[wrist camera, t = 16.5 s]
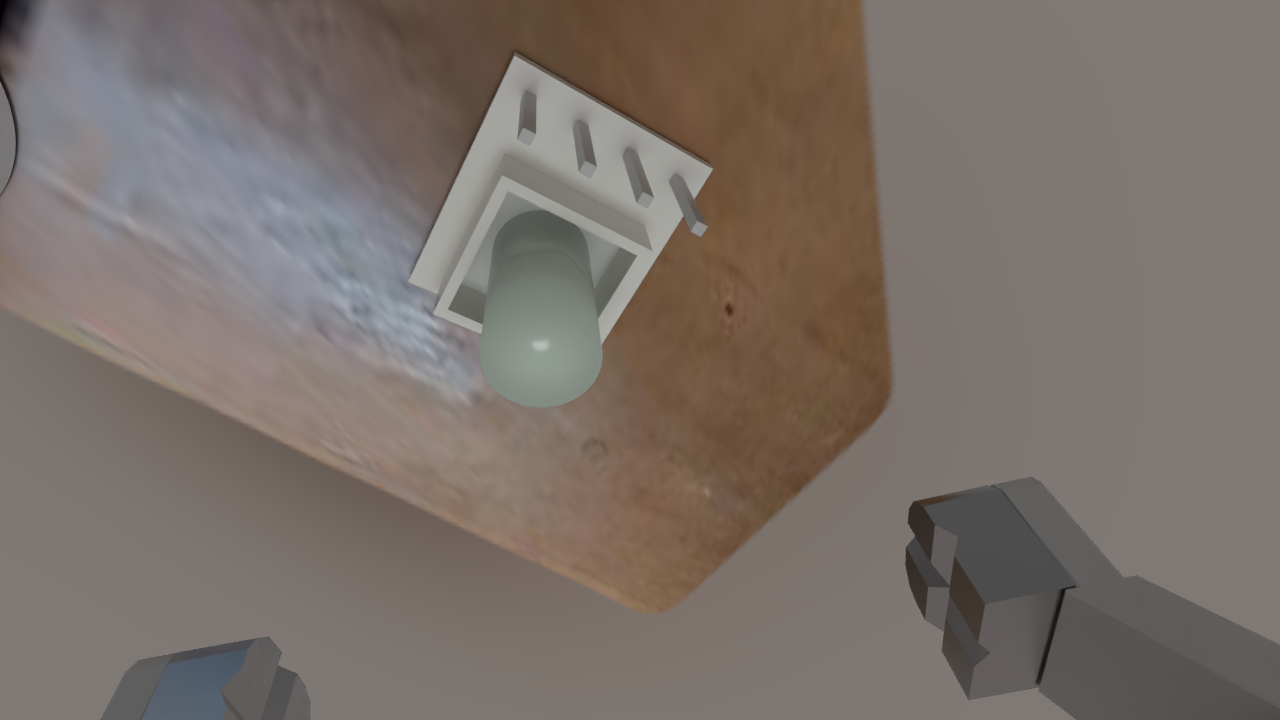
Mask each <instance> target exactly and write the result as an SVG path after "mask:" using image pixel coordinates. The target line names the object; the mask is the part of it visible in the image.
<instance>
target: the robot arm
mask: <svg viewBox="0 0 1280 720" xmlns="http://www.w3.org/2000/svg"><path fill="white" fill-rule="evenodd" d="M15 147H16V141H15V129H14V122H13V117H12V113H11V109H10V106H9V102H8V100H7V97H6V94H5V91H4V89H3V87H2V84H1V82H0V194H1V192H2V191H3V190H4V188H5V186H6V184H7V182H8V180H9V177H10V175H11V171H12V168H13V164H14V158H15ZM908 515H909V516H908V524H909V526H910V528H911V529H912V531H913V533H914V535H915V537H914V539H913V540H912V541H911V542H910V543H909V544H908V545H907V547H906V561H905V566H906V571H907V575H908V580H909V585H910V588H911V591H912V593H913V596H914V598H915V601H916V603H917V605H918V607H919V609H920V611H921V613H922V615H923V617H924V619H925V620H926V621H928V622H929V623H931V624H933V625H934V626H936V627H937V628H939V629H941V630H942V631H944V636H943V645H942V652H943V654H944V656H945V658H946V660H947V661H948V663H949V665H950V667H951V669H952V670H953V672H954V674H955V676H956V678H957V679H958V682H959V683H960V685H961V687H962V689H963V691H964V693H965V694H966V696H967V698H968V700H971V699H977V698H982V697H988V696H993V695H999V694H1004V693H1010V692H1015V691H1021V690H1026V689H1032V688H1037V687H1039V692H1040V693H1042V694H1043V695H1044V696H1046V697H1047V698H1048V699H1050V700H1051V701H1052V702H1054V703H1055V704H1056V705H1058V706H1059V707H1060V708H1062V709H1063V710H1064V711H1066V712H1067V713H1068V714H1070V715H1071V716H1072V717H1073V718H1075V719H1076V720H1280V645H1279V644H1277V643H1275V642H1273V641H1271V640H1269V639H1267V638H1265V637H1263V636H1261V635H1258V634H1256V633H1255V632H1252V631H1250V630H1248V629H1246V628H1244V627H1242V626H1240V625H1238V624H1236V623H1234V622H1232V621H1230V620H1228V619H1225V618H1224V617H1221V616H1219V615H1217V614H1215V613H1213V612H1211V611H1209V610H1207V609H1205V608H1203V607H1201V606H1199V605H1197V604H1195V603H1193V602H1191V601H1188V600H1186V599H1184V598H1182V597H1180V596H1178V595H1176V594H1174V593H1172V592H1170V591H1168V590H1166V589H1164V588H1162V587H1160V586H1158V585H1156V584H1154V583H1151V582H1149V581H1147V580H1145V579H1143V578H1141V577H1139V576H1137V575H1136V576H1130V577H1123V576H1122V575H1121V573H1120V572H1119V571H1118V570H1117V569H1116V568H1115V566H1114V565H1113V564H1112V563H1111V562H1110V561H1109V560H1108V558H1107V557H1106V556H1105V555H1104V554H1103V553H1102V552H1101V550H1100V549H1099V548H1098V547H1097V546H1096V545H1095V544H1094V542H1093V541H1092V540H1091V539H1090V538H1089V537H1088V535H1087V534H1086V533H1085V532H1084V531H1083V530H1082V528H1081V527H1080V526H1079V525H1078V524H1077V523H1076V522H1075V521H1074V519H1073V518H1072V517H1071V516H1070V515H1069V514H1068V512H1067V511H1066V510H1065V509H1064V508H1063V507H1062V506H1061V504H1060V503H1059V502H1058V501H1057V500H1056V499H1055V497H1054V496H1053V495H1052V494H1051V493H1050V492H1049V491H1048V489H1047V488H1046V487H1045V486H1044V485H1043V484H1042V482H1041V481H1039V480H1037V479H1035V478H1033V477H1028V478H1023V479H1018V480H1013V481H1009V482H1004V483H999V484H994V485H991V486H982V487H977V488H973V489H968V490H964V491H959V492H954V493H950V494H945V495H941V496H936V497H932V498H927V499H923V500H918V501H914V502H913V503H912V505H911V506H910V508H909V514H908ZM281 654H282V652H281V651H280V649H279V648H278V647H277V646H276V644H275V643H274V642H273V641H272V640H271V638H270V637H262V638H255V639H250V640H244V641H239V642H233V643H227V644H222V645H217V646H210V647H205V648H199V649H194V650H188V651H183V652H179V653H173V654H168V655H163V656H158V657H153V658H147V659H142V660H138V661H137V662H136V663H135V664H134V665H133V666H132V667H131V668H129V669H128V670H127V671H126V672H125V674H124V676H123V678H122V679H121V681H120V683H119V685H118V687H117V689H116V691H115V693H114V695H113V697H112V699H111V701H110V703H109V705H108V706H107V709H106V710H105V712H104V714H103V716H102V718H101V720H310V700H309V696H308V693H307V690H306V687H305V685H304V683H303V681H302V680H301V678H300V677H299V676H298V674H297V673H295V672H292V671H290V670H288V669H285V668H282V667H280V666H278V663H279V660H280V657H281Z"/></svg>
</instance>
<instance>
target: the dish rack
mask: <svg viewBox="0 0 1280 720" xmlns="http://www.w3.org/2000/svg"><path fill="white" fill-rule="evenodd" d="M712 170H713V168H712V167H711V165H710V164H709V163H707V162H706V161H704V160H702V159H700V158H699V157H697V156H695V155H694V154H692V153H690V152H688V151H687V150H685V149H683V148H681V147H680V146H678V145H676V144H674V143H673V142H671V141H669V140H668V139H666V138H664V137H662V136H661V135H659V134H657V133H655V132H654V131H652V130H650V129H648V128H647V127H645V126H643V125H641V124H640V123H638V122H636V121H635V120H633V119H631V118H629V117H628V116H626V115H624V114H622V113H621V112H619V111H617V110H615V109H614V108H612V107H610V106H608V105H607V104H605V103H603V102H602V101H600V100H598V99H596V98H595V97H593V96H591V95H589V94H588V93H586V92H584V91H582V90H581V89H579V88H577V87H575V86H574V85H572V84H570V83H569V82H567V81H565V80H563V79H562V78H560V77H558V76H556V75H555V74H553V73H551V72H549V71H548V70H546V69H544V68H543V67H541V66H539V65H537V64H536V63H534V62H532V61H530V60H529V59H527V58H525V57H523V56H522V55H520V54H518V53H516V52H515V53H514V55H513V57H512V59H511V61H510V63H509V66H508V68H507V70H506V72H505V74H504V76H503V78H502V81H501V83H500V85H499V87H498V89H497V91H496V93H495V95H494V98H493V100H492V102H491V104H490V106H489V108H488V110H487V113H486V115H485V117H484V119H483V121H482V123H481V125H480V127H479V130H478V132H477V134H476V136H475V138H474V140H473V142H472V145H471V147H470V149H469V151H468V153H467V155H466V157H465V159H464V162H463V164H462V166H461V168H460V170H459V172H458V174H457V177H456V179H455V181H454V183H453V185H452V187H451V189H450V191H449V194H448V196H447V198H446V200H445V202H444V204H443V206H442V209H441V211H440V213H439V215H438V217H437V219H436V221H435V223H434V226H433V228H432V230H431V232H430V234H429V236H428V238H427V241H426V243H425V245H424V247H423V249H422V251H421V253H420V255H419V258H418V260H417V262H416V264H415V266H414V268H413V270H412V273H411V275H410V278H409V281H408V282H410V283H412V284H415V285H417V286H419V287H422V288H424V289H426V290H429V291H431V292H433V293H436V294H438V295H437V299H436V303H435V307H434V311H433V314H434V315H436V316H439V317H441V318H444V319H446V320H448V321H451V322H453V323H456V324H458V325H460V326H463V327H465V328H468V329H470V330H472V331H475V332H477V333H480V334H482V327H483V319H484V311H485V304H486V296H487V288H488V281H489V273H490V265H491V258H492V250H493V244H494V241H495V238H496V236H497V234H498V232H499V231H500V229H501V228H502V227H503V226H504V225H505V224H506V223H507V222H508V221H509V220H510V219H512V218H513V217H515V216H517V215H519V214H522V213H525V212H528V211H535V210H544V211H549V212H551V213H553V214H555V215H557V216H559V217H561V218H563V219H565V220H567V221H569V222H571V223H573V224H575V225H577V227H578V228H579V229H580V230H581V232H582V233H583V235H584V237H585V239H586V241H587V245H588V250H589V257H590V265H591V272H592V279H593V287H594V294H595V301H596V309H597V316H598V323H599V331H600V338H601V345H602V343H603V342H604V340H605V339H606V337H607V335H608V334H609V332H610V331H611V329H612V328H613V326H614V324H615V323H616V321H617V320H618V318H619V317H620V315H621V313H622V312H623V310H624V309H625V307H626V305H627V304H628V302H629V301H630V299H631V298H632V296H633V294H634V293H635V291H636V290H637V288H638V287H639V285H640V283H641V282H642V280H643V279H644V277H645V276H646V274H647V272H648V271H649V269H650V268H651V266H652V265H653V263H654V261H655V260H656V258H657V257H658V255H659V254H660V252H661V250H662V249H663V247H664V246H665V244H666V243H667V241H668V239H669V238H670V236H671V235H672V233H673V232H674V230H675V228H676V227H677V225H678V224H679V222H680V221H681V219H682V217H683V216H684V218H685V220H686V222H687V225H688V227H689V229H690V231H691V232H692V233H694V234H696V235H698V236H700V237H701V236H702V235H703V233H704V232H705V230H706V229H707V227H708V226H707V224H706V222H705V220H704V218H703V216H702V214H701V212H700V210H699V208H698V206H697V204H696V202H695V200H694V199H695V197H696V195H697V194H698V192H699V191H700V189H701V188H702V186H703V184H704V183H705V181H706V180H707V178H708V177H709V175H710V173H711V172H712Z"/></svg>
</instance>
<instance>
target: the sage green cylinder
mask: <svg viewBox="0 0 1280 720" xmlns="http://www.w3.org/2000/svg"><path fill="white" fill-rule="evenodd" d="M602 357H603V353H602V345H601V338H600V331H599V323H598V316H597V309H596V301H595V294H594V287H593V279H592V272H591V265H590V257H589V250H588V245H587V241H586V239H585V237H584V235H583V233H582V232H581V230H580V229H579V228H578V227H577V225H575V224H573V223H571V222H569V221H567V220H565V219H563V218H561V217H559V216H557V215H555V214H553V213H551V212H549V211H544V210H535V211H528V212H525V213H522V214H519V215H517V216H515V217H513V218H512V219H510V220H509V221H508V222H507V223H506V224H505V225H504V226H503V227H502V228H501V229H500V231H499V232H498V234H497V236H496V238H495V241H494V244H493V250H492V258H491V265H490V273H489V281H488V288H487V296H486V304H485V311H484V319H483V327H482V334H481V342H480V350H479V361H480V366H481V370H482V373H483V375H484V377H485V379H486V380H487V382H488V383H489V385H490V386H491V387H492V388H493V389H494V390H495V391H496V392H497V393H498V394H500V395H501V396H503V397H504V398H506V399H508V400H510V401H512V402H514V403H517V404H520V405H523V406H529V407H538V408H543V407H553V406H558V405H562V404H565V403H567V402H570V401H572V400H574V399H576V398H577V397H579V396H580V395H582V394H583V393H584V392H585V391H587V390H588V389H589V388H590V386H591V385H592V384H593V383H594V381H595V380H596V378H597V376H598V374H599V372H600V369H601V366H602Z"/></svg>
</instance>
